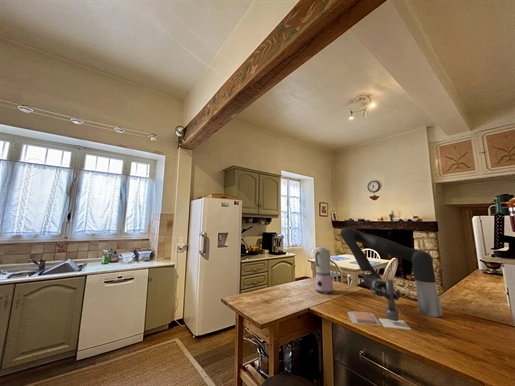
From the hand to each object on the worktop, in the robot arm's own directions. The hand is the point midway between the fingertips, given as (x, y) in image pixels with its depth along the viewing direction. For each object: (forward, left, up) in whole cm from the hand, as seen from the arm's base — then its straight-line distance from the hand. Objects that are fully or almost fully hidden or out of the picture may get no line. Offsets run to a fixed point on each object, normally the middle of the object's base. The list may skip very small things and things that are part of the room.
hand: (392, 297), depth 101 cm
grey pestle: (0, -3, -11) cm, 11 cm away
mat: (+13, -7, -14) cm, 20 cm away
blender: (+30, -50, -14) cm, 59 cm away
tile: (+13, -11, -12) cm, 21 cm away
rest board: (0, -3, -14) cm, 14 cm away
